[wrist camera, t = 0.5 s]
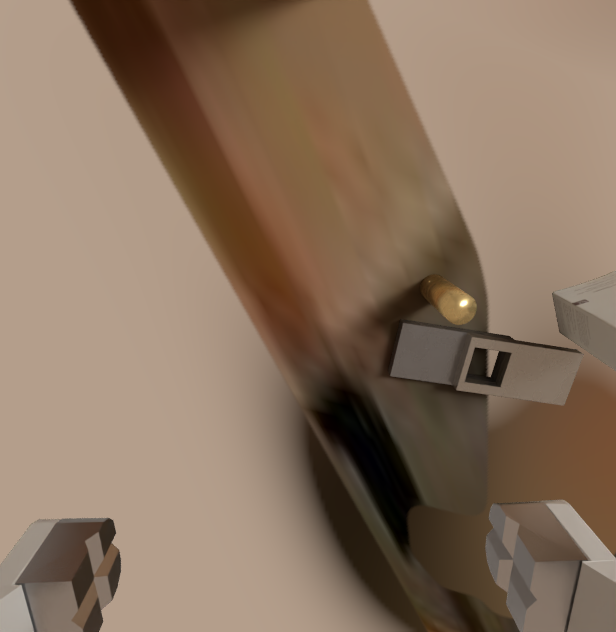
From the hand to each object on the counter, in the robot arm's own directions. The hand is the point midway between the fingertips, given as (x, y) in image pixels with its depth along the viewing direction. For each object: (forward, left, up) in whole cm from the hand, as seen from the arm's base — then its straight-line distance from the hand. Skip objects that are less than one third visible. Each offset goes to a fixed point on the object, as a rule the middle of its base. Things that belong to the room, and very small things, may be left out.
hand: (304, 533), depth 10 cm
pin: (+3, +17, -43) cm, 47 cm away
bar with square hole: (+11, +25, -43) cm, 51 cm away
